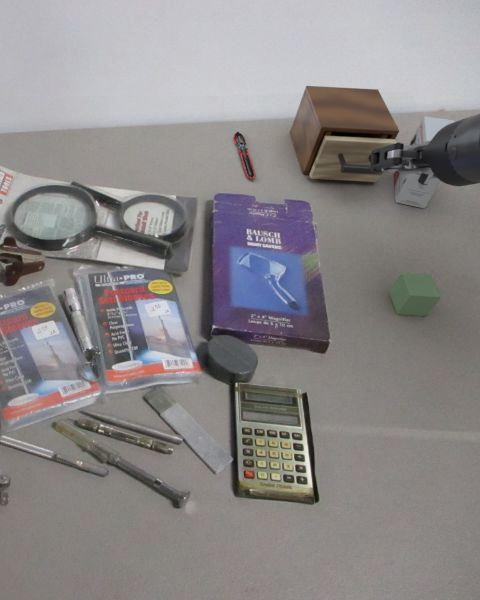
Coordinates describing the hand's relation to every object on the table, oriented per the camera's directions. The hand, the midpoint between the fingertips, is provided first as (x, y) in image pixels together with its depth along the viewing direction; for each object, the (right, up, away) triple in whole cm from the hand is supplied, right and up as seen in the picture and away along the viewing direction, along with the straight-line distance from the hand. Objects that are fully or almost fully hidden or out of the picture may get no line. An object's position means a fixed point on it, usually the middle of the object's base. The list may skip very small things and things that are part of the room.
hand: (405, 167), depth 82 cm
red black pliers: (-15, +7, +25) cm, 30 cm away
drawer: (0, +5, +22) cm, 22 cm away
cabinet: (+1, +8, +26) cm, 27 cm away
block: (+2, -19, +3) cm, 19 cm away
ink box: (+11, 0, +20) cm, 23 cm away
